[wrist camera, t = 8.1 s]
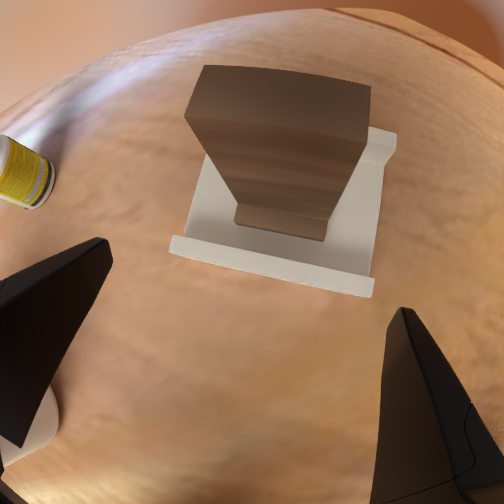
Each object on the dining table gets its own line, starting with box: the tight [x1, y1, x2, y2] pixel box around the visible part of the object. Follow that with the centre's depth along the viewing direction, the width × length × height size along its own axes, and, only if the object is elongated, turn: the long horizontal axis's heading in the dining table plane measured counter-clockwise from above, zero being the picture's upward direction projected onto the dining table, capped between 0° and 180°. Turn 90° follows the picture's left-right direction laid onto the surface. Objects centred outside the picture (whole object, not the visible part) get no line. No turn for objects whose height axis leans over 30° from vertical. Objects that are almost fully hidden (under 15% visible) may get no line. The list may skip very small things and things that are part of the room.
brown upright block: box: [184, 65, 371, 242], centre depth 12 cm, size 4×5×10 cm
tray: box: [169, 126, 397, 298], centre depth 17 cm, size 9×11×4 cm
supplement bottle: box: [0, 135, 55, 210], centre depth 17 cm, size 5×5×8 cm
